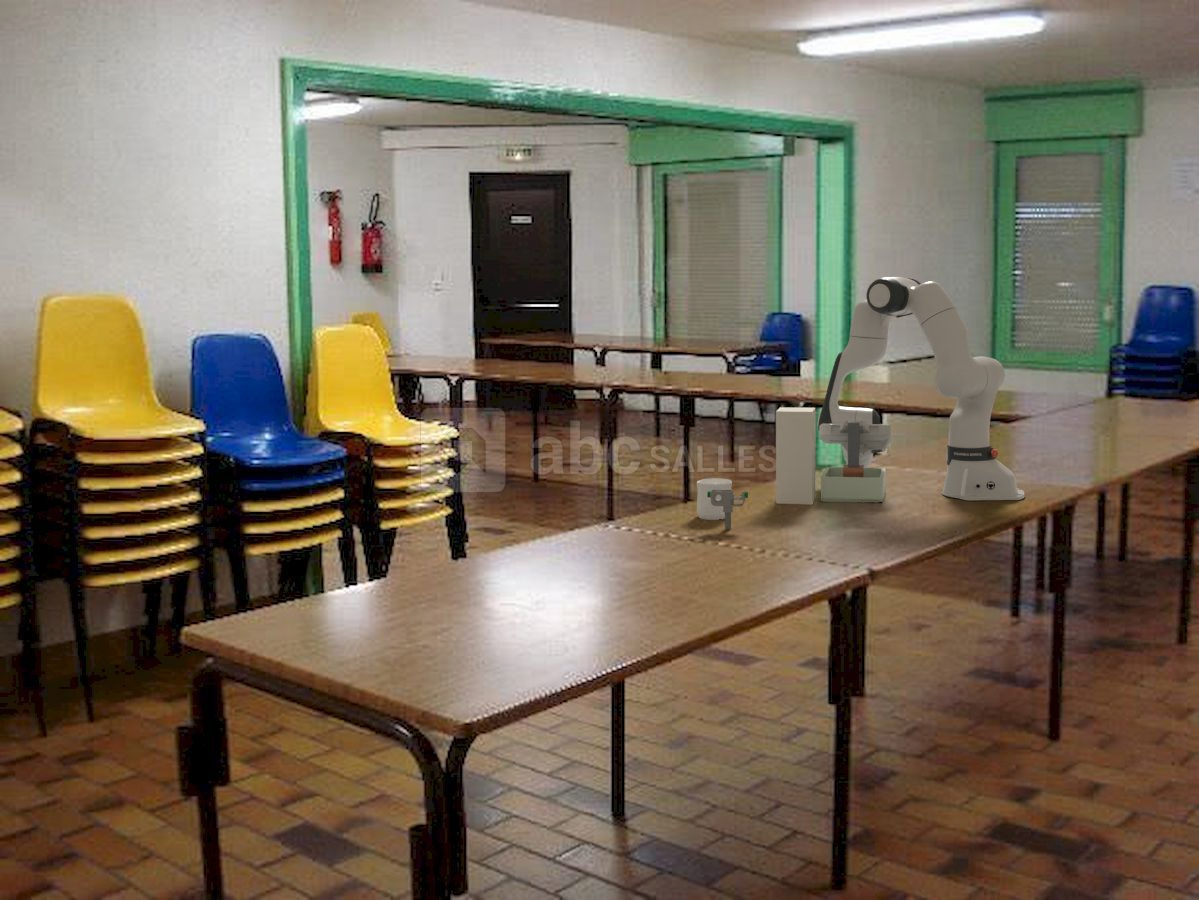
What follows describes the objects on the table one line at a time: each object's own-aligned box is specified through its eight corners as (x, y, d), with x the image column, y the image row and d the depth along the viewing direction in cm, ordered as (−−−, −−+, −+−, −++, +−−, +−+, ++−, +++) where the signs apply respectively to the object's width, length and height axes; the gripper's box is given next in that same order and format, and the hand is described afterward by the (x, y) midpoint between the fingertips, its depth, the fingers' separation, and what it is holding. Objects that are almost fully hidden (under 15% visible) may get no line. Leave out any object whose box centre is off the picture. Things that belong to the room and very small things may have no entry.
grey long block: (864, 421, 375) (863, 423, 370) (864, 482, 377) (863, 485, 373) (844, 421, 376) (843, 423, 372) (844, 482, 379) (842, 484, 374)
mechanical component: (747, 530, 336) (747, 492, 334) (707, 529, 338) (706, 491, 336) (748, 528, 339) (748, 489, 337) (708, 527, 341) (708, 489, 339)
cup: (731, 512, 359) (731, 477, 357) (733, 520, 349) (732, 484, 348) (696, 513, 360) (696, 477, 358) (697, 520, 350) (696, 484, 348)
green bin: (885, 491, 383) (885, 468, 382) (882, 503, 367) (882, 478, 366) (826, 490, 387) (826, 466, 386) (820, 501, 371) (821, 477, 370)
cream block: (815, 498, 376) (815, 407, 372) (812, 504, 367) (812, 411, 363) (780, 497, 378) (779, 407, 374) (776, 503, 370) (775, 411, 366)
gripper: (820, 430, 388) (817, 412, 376) (892, 431, 383) (890, 413, 371) (819, 450, 386) (815, 433, 374) (891, 451, 381) (889, 433, 368)
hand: (853, 423), depth 372 cm, fingers closed on grey long block, 3 cm apart
